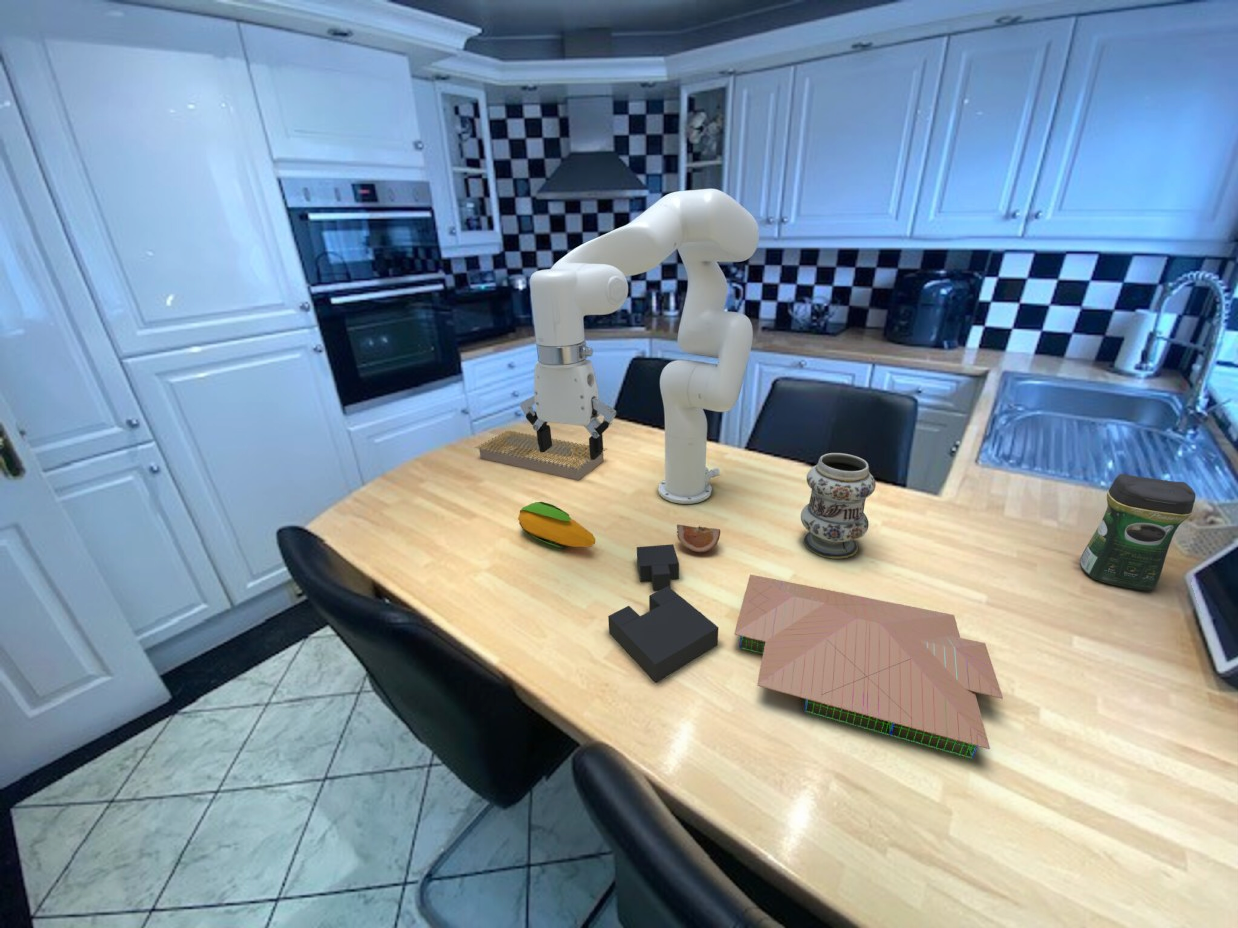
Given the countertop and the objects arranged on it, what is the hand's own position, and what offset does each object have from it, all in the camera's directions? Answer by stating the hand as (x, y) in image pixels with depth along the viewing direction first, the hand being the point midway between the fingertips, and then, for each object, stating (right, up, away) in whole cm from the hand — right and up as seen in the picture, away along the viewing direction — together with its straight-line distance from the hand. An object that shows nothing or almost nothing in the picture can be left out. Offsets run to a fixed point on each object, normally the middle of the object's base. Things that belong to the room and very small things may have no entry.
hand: (570, 453), depth 87 cm
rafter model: (-13, -1, +55) cm, 57 cm away
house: (+42, -31, -14) cm, 54 cm away
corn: (-4, -18, +18) cm, 26 cm away
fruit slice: (+24, -19, +14) cm, 33 cm away
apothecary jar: (+50, -18, +13) cm, 54 cm away
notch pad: (+15, -29, -8) cm, 34 cm away
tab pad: (+16, -22, +7) cm, 28 cm away
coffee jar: (+94, -21, +1) cm, 97 cm away
